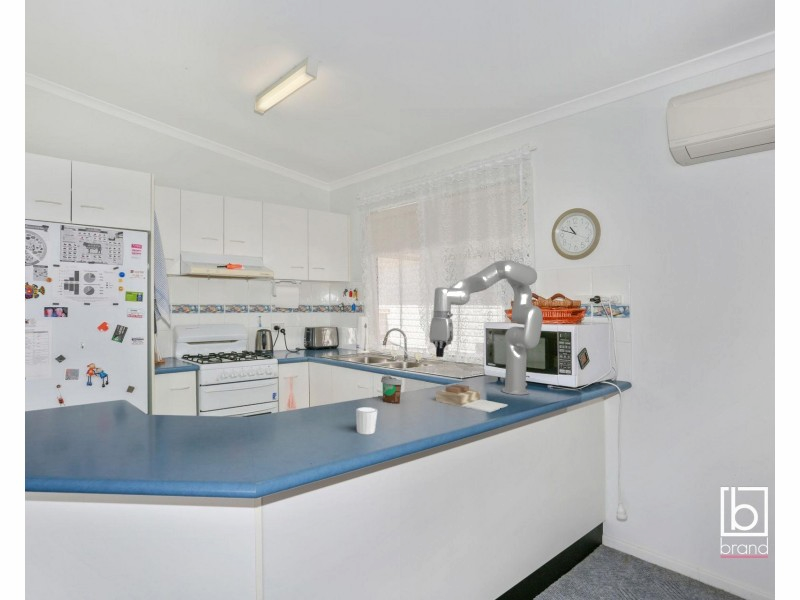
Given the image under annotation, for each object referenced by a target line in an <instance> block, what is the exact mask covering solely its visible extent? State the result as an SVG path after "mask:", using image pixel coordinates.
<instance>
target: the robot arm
mask: <svg viewBox="0 0 800 600" xmlns="http://www.w3.org/2000/svg"><path fill="white" fill-rule="evenodd" d="M537 279H538V273H537V271H536V270H535V269H534V267H532V266H528V265H526V264H523V263H521V262H518V261H514V260H509V259H507V260H498V261H494V262H493V263H492V264H489V265H488V266H487V267H485V268H483V269H482V270H480V271H479V272H476V273H475V274H472V275H470V276H469V277H466V278H463V279H462V280H460V281H458V282H456V283H454V284H453V285H451V286H449V287H442V286H441V287H436V288H435V289H434V297H433V314H432V315H433V316H432V318H431V321H430V326H429V333H428V334H429V336H428V337H429V342H430V343H432V344H433V345H434V347H435V348H436V349H435V355H436V356H435V357H437V358H443V357H444V353H445V352H444V351H445V348H446V346H448V345H449V346H450V345H452V341H454V323H453V318H452V317H453V313H452V311H451V310H452V305H454V306H463V305H466V304H468V303H469V301H470V298H471V294H474V293H478V292H483V291H486V290H487V289H489V288H491V287H492V286H494V285H495V284H497V283H498V282H499V281H502V280H506V282H507V283H508V284H509V286H510V287H511V288H512V290H513V295H514V296H513V303H512V310H511V320H512V322H513V323H515V324H517V325H523V326H524V327H522V326H511V327H509V328H508V329H507V330H506V332H505V334H504V335H505V336H504V340H505V349H506V353H505V354H506V359H505V381H504V387H502V388H501V392H502V393H505V394H510V395H516V396H517V395H520V396H521V395H522V396H523V395H528V394H529V390H527V389H526V387H527V386H528V383H527V381H526V379H527V376H526V375H527V359H528V356H527V351H526V349H535V348H537V346H538V344H539V342H540V339H541V333H542V327H543V321H544V319H543V318H544V316H543V311H542V309H541V308H540V307H539V306H537V305H533V304H532V302H533V291H532V289H531V287H530V286H532V285H533V284H535V283H536V282H537Z"/></svg>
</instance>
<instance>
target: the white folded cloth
mask: <svg viewBox="0 0 800 600" xmlns="http://www.w3.org/2000/svg"><path fill="white" fill-rule="evenodd" d="M462 407H463V408H467V409H470V410H475V411H480V412H486V413H492V412H495V411H497V410H501V409H503V408H505V407H508V404H506V403H501V402H496V401H490V400H486V399H481V398H480V400H477V401H473V402H470V403H467V404H464V405H462V406H461V408H462ZM500 408H501V409H500Z"/></svg>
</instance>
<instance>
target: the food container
mask: <svg viewBox="0 0 800 600" xmlns="http://www.w3.org/2000/svg"><path fill="white" fill-rule="evenodd" d="M402 381H403V380H402V379H398V378H396V377H392V375H391V374H384V375H383V376H381V379H380V382H381V383H382V402H384V403H387V404H391V403H392V404H394V405H396V404H398V405H399V404H400V403H401V390H402V385H403V382H402Z"/></svg>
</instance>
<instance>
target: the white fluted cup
mask: <svg viewBox="0 0 800 600" xmlns="http://www.w3.org/2000/svg"><path fill="white" fill-rule="evenodd" d="M378 411H379V410H378V409H377V408H374V407H371V406H370V407H368V406H365V407H364V406H362V407H358V408H355V419H356V422H355V423H356V433H358V434H361V435H371V434H374V433H375V432H376V424H377V418H378Z"/></svg>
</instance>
